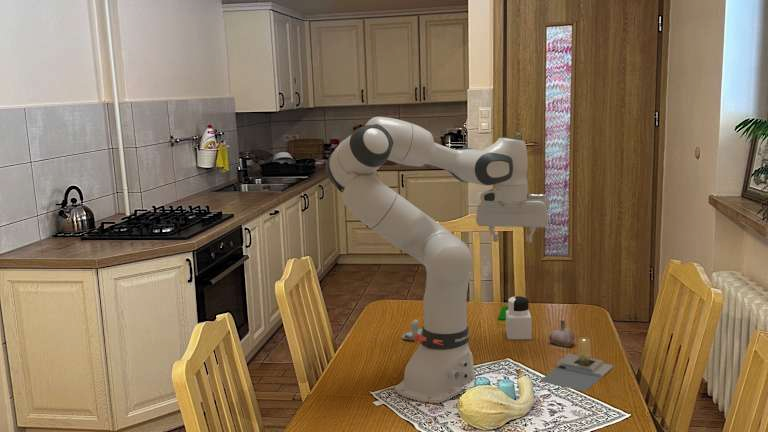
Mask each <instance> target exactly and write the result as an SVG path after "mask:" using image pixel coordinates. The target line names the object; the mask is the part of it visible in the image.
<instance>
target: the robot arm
mask: <svg viewBox="0 0 768 432" xmlns="http://www.w3.org/2000/svg"><path fill="white" fill-rule="evenodd" d="M528 158H529V157H528V148H527V145H526V143H525V141H524V140H523V139H522V138H519V137H518V138H517V137H510V136H500V137H498V138H497V140H495V142H494V143H493V144H491V145H489V146H488V147H485V148H484V149H483V150H482V149H476V148H471V147H462V148H456V149H455V148H451V147H448V146H444V145H442V144H439V143H437V142H435V139H434V136H433V134H432V133H431V131H429V130H427V129H425V128H424V127H422V126H420V125H417V124H415V123H412V122H409V121H405V120H401V119H397V118H393V117H388V116H387V117H386V116H374V117H371V118H370V119H369V120H368V121H367V122H366V124H365V125H363V126H361V127H358V128H357V129H355V130H354V131H353V132H352V133H351V134H350V135H349V136H347V138H345V139H343V140H342V141H341V142H340V143H339V144H338V145H337V146H336V148H335V149H334V151H332V152H331V153H330V155H329V156H328V158H327V160H326V162H325V163H326V164H325V173H326V175H327V178H328V179H329V181H330V182H331V183H332V184H333V185H334V186H335V188H336V189H337V190H338V191H339V192H341V193H342V201H343V205H344V206H345V207H346V208H347V209H348V210H349V211H350V212H351V213H352V214H353V215H354V217H356V218H357V219H358V220H360V222H362V223H363V224H364V225H366V227H368V228H369V229H370V230H372V231H373V232H375V233H376V234H377V235H378V236H380V237H381V238H383V239H385V240H386V241H387V242H388V243H390V244H392V245H393V246H395V248H397V249H400V250H401V251H403V252H404V253H405V254H407V255H408V256H411V258H414V259H415V260H416V261H417V262H420V263H421V264H422V265H423V266H424V267H425V270H426V279H425V289H424V290H425V291H424V295H423V298H422V299H423V300H422V301H423V305H422V306H423V326H422V328H421V329H422V332H421V335H420V334H415V336H414V337H415V338H414V340H413V341H414V342H416V343H417V342H418V343H419V346H418V348H417V349H416V350H415V352H414V353H413V354H412V356H411V358H410V359H409V361H408V363H407V364H406V366H405V368H404V374H403V375H404V377H403V380H402V381H400V383H398V384H397V385H396V386H395V387H394V392H397V393H396V394H398V395H399V394H400V395H399V396H401V395H402V397H403V396H404V397H403V398H406V397H407V398H406V399H409V398H410V400H412V399H413V400H412V401H416V400H417V401H416V402H420V401H421V402H422V403H426V402H429V403H428V404H440V402H441V403H444V402H446V401H448V400H450V399H449V398H451V399H453V398H455V397H457V396H456V395H458V394H460V393H462V392H464V391H465V390H467V389H466V388H463V387H465V386H467V385H468V384H470V383H472V382H473V381H475V380H476V376H475V367H474V358H473V353H472V351H471V349H470V347H469V346H470V345H469V341H470V338H469V337H470V331H469V326H468V325H467V322H468V318H467V317H468V316H467V312H468V311H467V300H468V299H467V298H468V297H467V295H468V289H469V283H470V276H471V271H472V269H473V265H474V264H473V261H474V260H473V257H472V253H471V250H470V248H469V247H468V246H467V244H466V242H463V240H461V239H460V238H459V237H458V236H456V235H455V234H453V232H451V231H450V230H448V229H447V228H446V227H444V226H443V225H441V224H440V223H438V222H437V221H436V220H435V219H433V218H432V217H431V216H429V215H428V214H426V213H425V212H424V211H422V210H421V209H420V208H419V207H417V206H416V205H414V204H413V203H411V202H410V201H409V200H408V199H406V198H405V197H403V196H402V195H401V194H399V193H398V192H396V191H395V190H394V189H393V188H390V187H389V186H388V185H386V184H384V182H382V181H381V179H380V178H379V176H378V174H377V173H376V172H377V170H379V169H380V168H381V166H383V165H384V164H385V163H386V162H387V161H391V162H393V163H396V164H400V165H403V166H404V165H405V166H409V167H423V166H424V165H429V166H431V167H436V168H439V169H442V170H445V171H447V172H448V173H450V174H451V175H452V176H453V177H454V178H455V179H456V180H458V181H460V182H462V183H468V184H475V185H481V186H493V185H495V188H491V189H488V190H485V191H483V192H482V193H481V194H480V195H479V199H480V202H479V203H478V205H477V208H476V216H475V217H476V218H475V219H476V221H475V222H476V224H477V225H478V226H479V227H488V231H489V232H490V234H491V235H492V242H493V243H495V242H499V241H500V239H499V234H496V232H495V231H494V230H495V228H496V227H503V228H504V227H509V228H510V227H512V228H513V227H514V228H529V231H530V233H529V235H527V234H526V236H525V243H532V242H533V235H534V233H535V232H536V230H537V228H546V227H547V226H548V225H549V212H548V210H549V208H550V199H549V197H548V196H547V195H545V194H542V193H541V194H534V193H528V192H529V191H528V190H529V189H528V187H529V183H528V179H527V172H528V168H529V167H528V166H529V165H528V163H529V162H528V161H529V160H528ZM462 394H463V393H462ZM460 395H461V394H460ZM454 396H455V397H454ZM458 396H459V395H458ZM452 397H453V398H452ZM447 399H448V400H447ZM445 400H446V401H445ZM443 401H444V402H443ZM421 402H420V403H421Z"/></svg>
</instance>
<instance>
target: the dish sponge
mask: <svg viewBox="0 0 768 432" xmlns="http://www.w3.org/2000/svg"><path fill="white" fill-rule="evenodd" d="M506 310H508V306H507V305H503V306H502V308H501V310H500V312H499V314H498V316H497V325H500V326H501V325H502V326H506Z"/></svg>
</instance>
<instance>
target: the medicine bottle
mask: <svg viewBox="0 0 768 432" xmlns="http://www.w3.org/2000/svg"><path fill="white" fill-rule="evenodd" d="M507 301H508V302H507V305H508V310H506V325H505V333H506V337H507V340H511V341H512V340H515V341H516V340H519V341H520V340H521V341H523V340H524V341H526V340H532V333H533V332H532V331H533V330H532V328H533V327H532V322H533V321H532V319H533V318H532V315H531V311H530V310H529V305H530V304H529V299H528V298H527V297H525V296H521V295H520V296H518V295H516V296H512V297H509V298H508V300H507Z"/></svg>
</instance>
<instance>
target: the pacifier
mask: <svg viewBox="0 0 768 432" xmlns="http://www.w3.org/2000/svg"><path fill="white" fill-rule="evenodd" d="M419 326H420V321H419V319H413V320H412V321H411V324H410V329H411V331H409V332H405V333H403V335H402V336H401V338H402V340H409V341H415V340H414V338H415V337H414V336H415V334H420V335H421V332H422V329H423V328H419Z"/></svg>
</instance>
